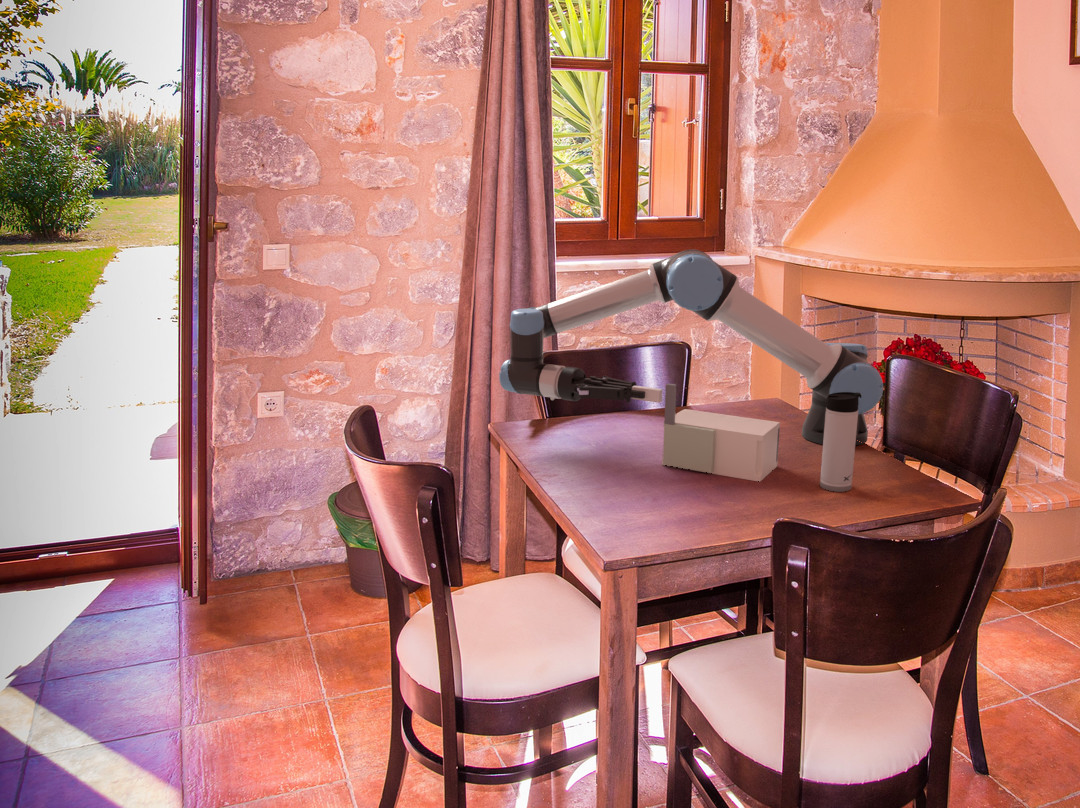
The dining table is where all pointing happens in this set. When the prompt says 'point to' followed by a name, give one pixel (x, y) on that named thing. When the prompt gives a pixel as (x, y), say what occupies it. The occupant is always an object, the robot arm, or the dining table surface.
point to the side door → (685, 440)
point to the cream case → (738, 443)
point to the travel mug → (839, 441)
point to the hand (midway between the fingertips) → (660, 395)
